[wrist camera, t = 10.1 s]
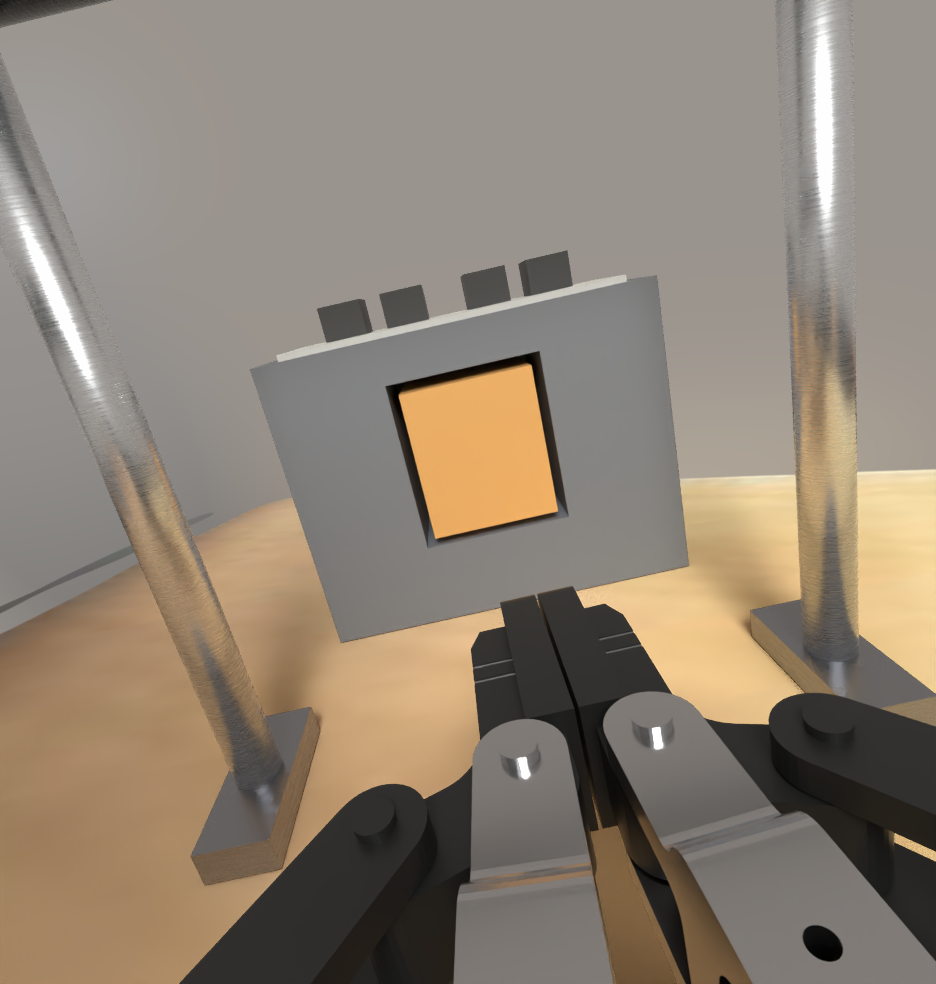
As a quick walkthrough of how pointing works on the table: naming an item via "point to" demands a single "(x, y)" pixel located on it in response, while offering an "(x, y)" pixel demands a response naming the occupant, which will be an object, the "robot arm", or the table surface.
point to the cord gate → (177, 561)
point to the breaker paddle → (479, 446)
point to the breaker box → (567, 430)
